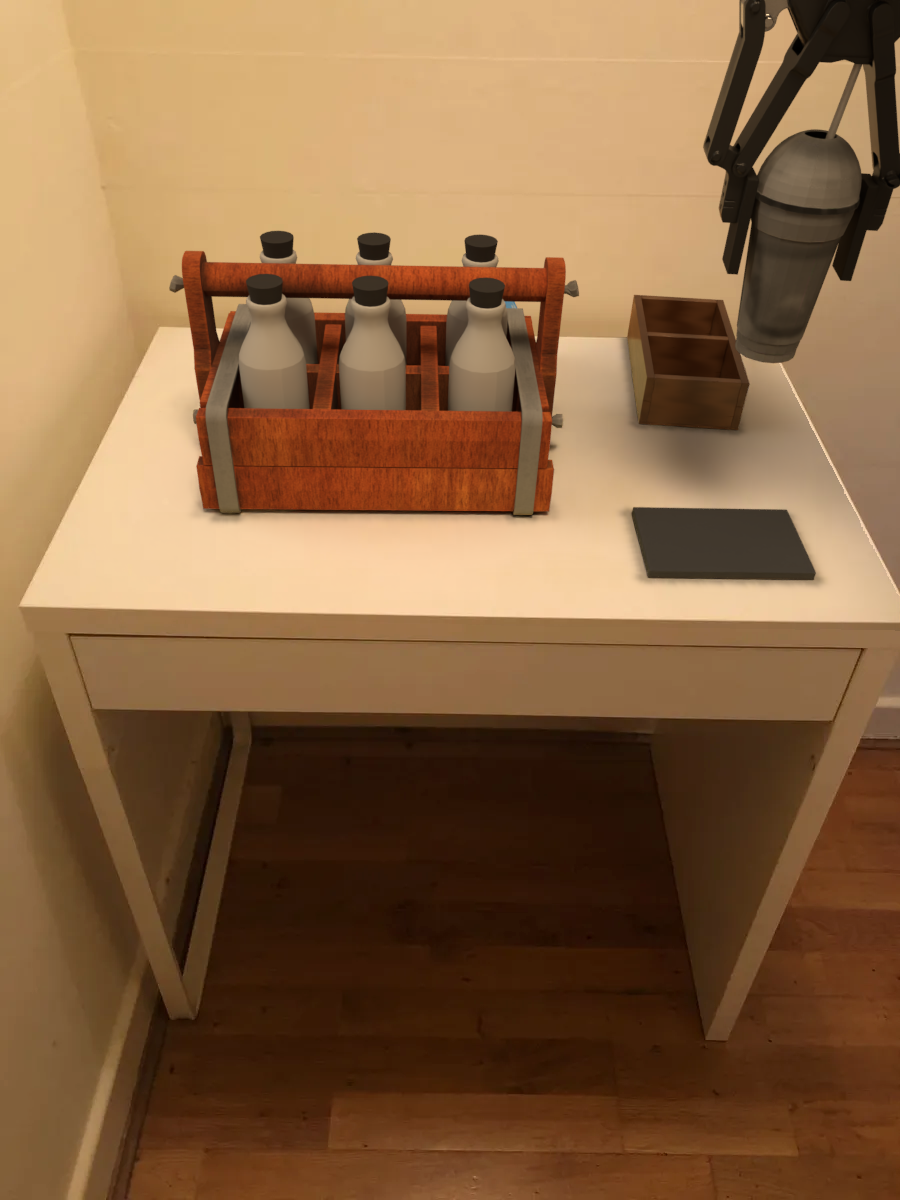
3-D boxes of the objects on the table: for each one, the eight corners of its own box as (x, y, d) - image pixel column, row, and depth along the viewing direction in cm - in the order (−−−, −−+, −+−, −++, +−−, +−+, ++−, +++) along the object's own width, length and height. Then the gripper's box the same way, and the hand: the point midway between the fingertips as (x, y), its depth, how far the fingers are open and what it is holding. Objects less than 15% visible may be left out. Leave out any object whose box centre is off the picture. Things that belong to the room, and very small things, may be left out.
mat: (784, 516, 89) (787, 509, 88) (813, 580, 82) (816, 572, 82) (631, 513, 88) (632, 506, 88) (648, 578, 82) (649, 570, 81)
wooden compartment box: (713, 342, 114) (723, 299, 111) (737, 430, 100) (749, 383, 96) (626, 337, 115) (633, 294, 111) (638, 423, 100) (646, 377, 97)
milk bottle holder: (214, 396, 102) (187, 207, 89) (549, 400, 103) (569, 215, 91) (177, 517, 86) (137, 308, 73) (573, 520, 87) (601, 315, 75)
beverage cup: (738, 319, 79) (805, 38, 66) (827, 345, 76) (915, 56, 63) (701, 352, 74) (764, 57, 61) (793, 382, 71) (881, 78, 58)
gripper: (1043, -122, 58) (912, 257, 73) (701, -136, 59) (641, 242, 74) (1096, -108, 53) (943, 300, 68) (717, -124, 53) (649, 283, 68)
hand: (785, 269), depth 71 cm, fingers closed on beverage cup, 7 cm apart
